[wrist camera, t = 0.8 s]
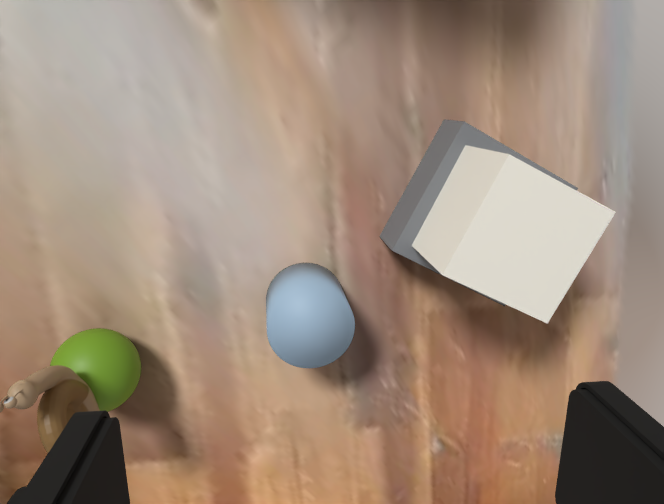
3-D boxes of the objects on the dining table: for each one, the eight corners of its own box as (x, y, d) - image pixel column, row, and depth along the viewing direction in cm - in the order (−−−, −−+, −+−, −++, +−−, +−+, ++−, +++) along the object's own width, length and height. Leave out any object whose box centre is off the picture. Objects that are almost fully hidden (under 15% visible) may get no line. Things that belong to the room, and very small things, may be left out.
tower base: (481, 286, 39) (504, 306, 35) (378, 235, 37) (391, 250, 33) (545, 179, 38) (577, 188, 34) (442, 119, 35) (464, 121, 32)
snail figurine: (120, 291, 35) (54, 381, 24) (161, 369, 37) (117, 487, 26) (44, 320, 35) (-59, 424, 24) (89, 397, 37) (13, 528, 26)
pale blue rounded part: (320, 346, 39) (329, 380, 34) (252, 316, 37) (251, 348, 32) (356, 282, 38) (370, 308, 33) (288, 249, 36) (292, 272, 31)
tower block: (500, 287, 35) (547, 323, 29) (411, 245, 33) (442, 275, 28) (555, 193, 34) (615, 212, 28) (465, 144, 32) (509, 154, 26)
